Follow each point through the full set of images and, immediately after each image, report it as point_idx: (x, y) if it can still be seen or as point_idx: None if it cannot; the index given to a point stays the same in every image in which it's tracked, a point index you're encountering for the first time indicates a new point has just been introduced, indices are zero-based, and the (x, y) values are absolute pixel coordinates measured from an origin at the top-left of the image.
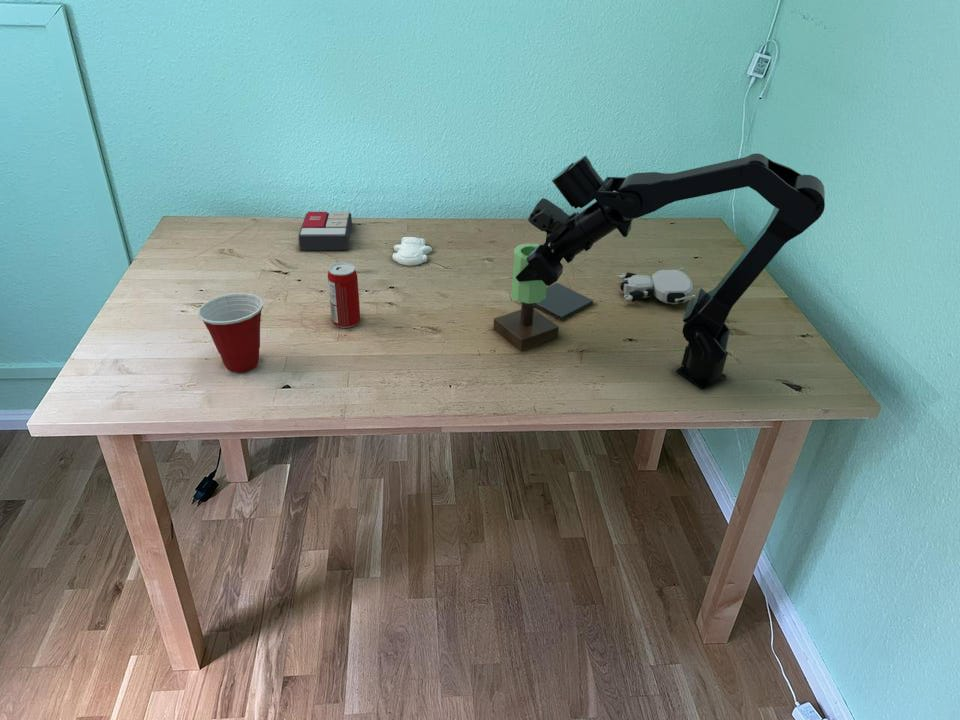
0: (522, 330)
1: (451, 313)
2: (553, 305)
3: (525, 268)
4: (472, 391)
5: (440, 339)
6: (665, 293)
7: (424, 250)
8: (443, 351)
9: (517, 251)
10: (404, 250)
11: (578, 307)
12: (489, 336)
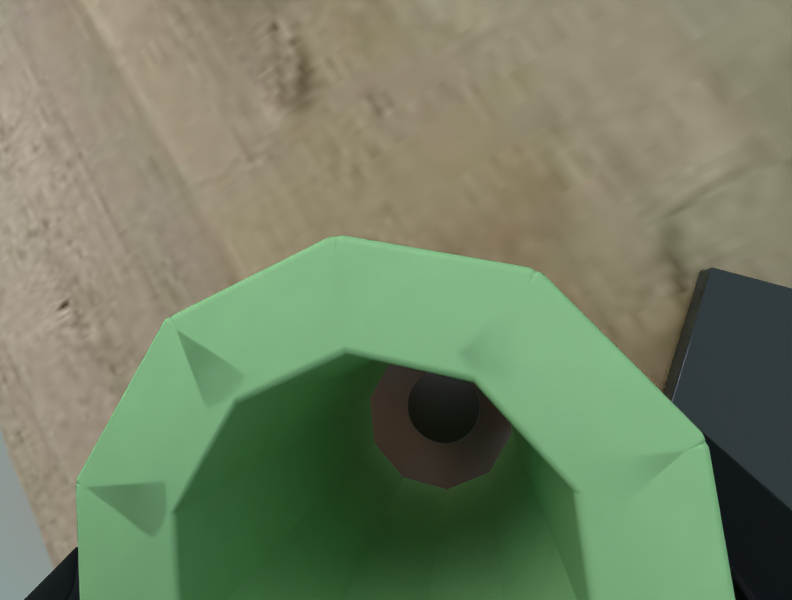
0: (381, 402)
1: (431, 68)
2: (723, 417)
3: (71, 563)
4: (69, 376)
5: (260, 137)
6: None
7: None
8: (204, 187)
9: (227, 341)
10: None
11: None
12: None
